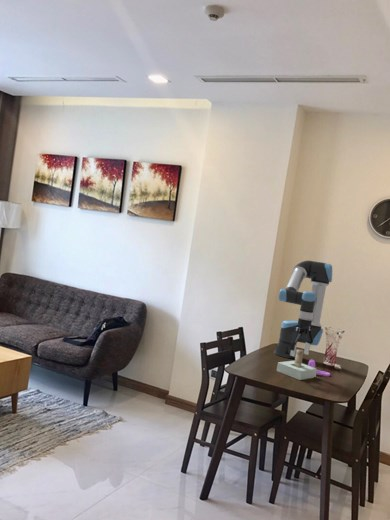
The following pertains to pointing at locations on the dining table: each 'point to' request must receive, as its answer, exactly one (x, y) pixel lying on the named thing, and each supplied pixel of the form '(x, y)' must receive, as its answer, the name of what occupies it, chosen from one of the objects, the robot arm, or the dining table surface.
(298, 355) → the peg
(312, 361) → the bracket
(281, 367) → the socket block
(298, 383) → the dining table surface
